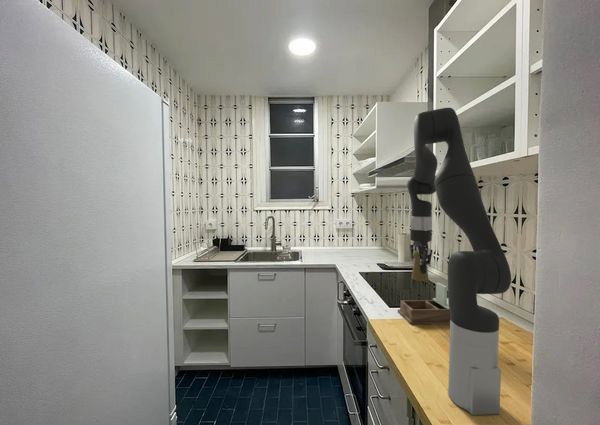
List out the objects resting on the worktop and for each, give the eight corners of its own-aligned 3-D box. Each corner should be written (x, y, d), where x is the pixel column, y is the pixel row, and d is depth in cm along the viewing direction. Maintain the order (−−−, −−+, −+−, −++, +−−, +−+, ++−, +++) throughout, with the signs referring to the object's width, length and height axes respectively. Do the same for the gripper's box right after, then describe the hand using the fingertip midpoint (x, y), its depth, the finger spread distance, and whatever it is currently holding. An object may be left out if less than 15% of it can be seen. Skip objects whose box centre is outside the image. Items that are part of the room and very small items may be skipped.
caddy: (475, 323, 105) (476, 310, 105) (410, 324, 104) (410, 310, 104) (456, 311, 117) (456, 299, 117) (397, 312, 116) (397, 299, 116)
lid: (473, 309, 106) (473, 288, 106) (447, 309, 105) (448, 288, 105) (456, 299, 116) (456, 280, 116) (432, 299, 116) (433, 281, 116)
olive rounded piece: (431, 281, 107) (432, 251, 106) (414, 280, 107) (415, 251, 106) (424, 277, 113) (425, 249, 112) (409, 276, 113) (409, 249, 112)
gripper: (403, 226, 116) (402, 269, 117) (420, 230, 102) (419, 278, 102) (421, 227, 117) (420, 269, 117) (440, 230, 102) (439, 278, 103)
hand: (419, 273), depth 110 cm, fingers closed on olive rounded piece, 3 cm apart
